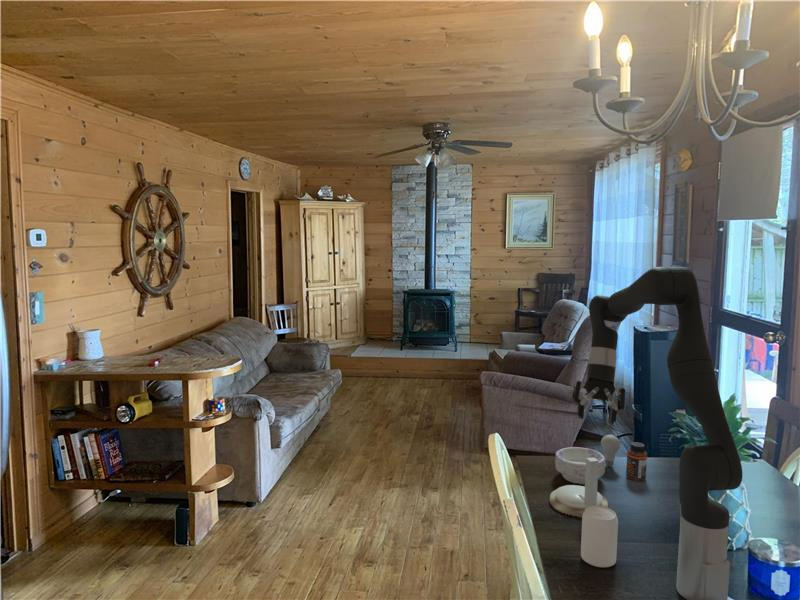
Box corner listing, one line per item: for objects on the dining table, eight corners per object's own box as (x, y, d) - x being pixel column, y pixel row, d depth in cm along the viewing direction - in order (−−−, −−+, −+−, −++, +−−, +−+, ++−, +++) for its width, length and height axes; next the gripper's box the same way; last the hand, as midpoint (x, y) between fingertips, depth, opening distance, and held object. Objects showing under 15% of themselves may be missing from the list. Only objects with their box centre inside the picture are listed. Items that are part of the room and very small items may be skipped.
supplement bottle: (621, 476, 188) (623, 442, 187) (635, 472, 191) (637, 439, 190) (636, 483, 183) (638, 448, 182) (650, 479, 186) (651, 445, 184)
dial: (613, 507, 163) (615, 458, 161) (571, 512, 160) (573, 463, 158) (586, 486, 176) (588, 441, 175) (547, 491, 173) (548, 445, 171)
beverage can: (588, 547, 146) (590, 501, 144) (620, 558, 141) (623, 511, 139) (575, 561, 139) (577, 513, 138) (608, 573, 134) (611, 524, 133)
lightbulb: (620, 471, 192) (621, 439, 191) (601, 469, 194) (602, 437, 192) (617, 463, 198) (618, 432, 197) (598, 462, 199) (600, 431, 198)
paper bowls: (546, 471, 192) (546, 448, 191) (586, 466, 196) (587, 444, 195) (571, 491, 177) (572, 466, 176) (614, 485, 181) (615, 461, 180)
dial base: (619, 514, 163) (619, 508, 163) (568, 520, 159) (568, 515, 159) (587, 489, 178) (587, 484, 178) (540, 495, 174) (540, 490, 174)
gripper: (580, 359, 164) (574, 417, 161) (631, 367, 163) (625, 426, 161) (573, 361, 171) (567, 416, 169) (622, 369, 170) (616, 424, 168)
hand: (596, 421), depth 165 cm, fingers open, 8 cm apart
